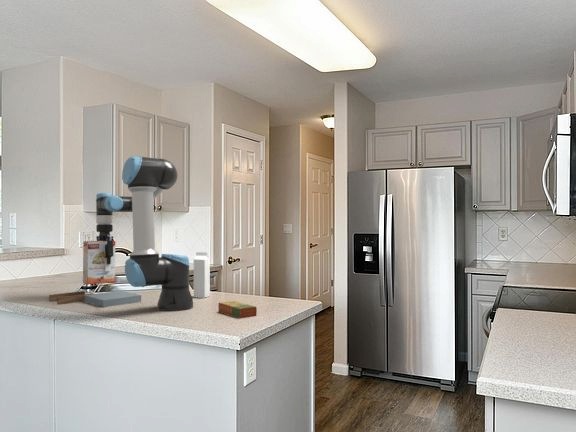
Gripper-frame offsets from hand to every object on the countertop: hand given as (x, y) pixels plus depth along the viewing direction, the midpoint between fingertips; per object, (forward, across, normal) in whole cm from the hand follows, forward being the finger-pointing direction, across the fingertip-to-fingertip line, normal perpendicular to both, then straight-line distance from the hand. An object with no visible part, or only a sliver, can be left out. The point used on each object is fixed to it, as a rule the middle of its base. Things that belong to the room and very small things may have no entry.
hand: (104, 270), depth 232 cm
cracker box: (+6, 0, +3) cm, 7 cm away
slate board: (+13, -16, +4) cm, 21 cm away
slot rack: (+13, +1, +16) cm, 21 cm away
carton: (+15, -80, -18) cm, 83 cm away
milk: (+14, -36, -32) cm, 50 cm away
